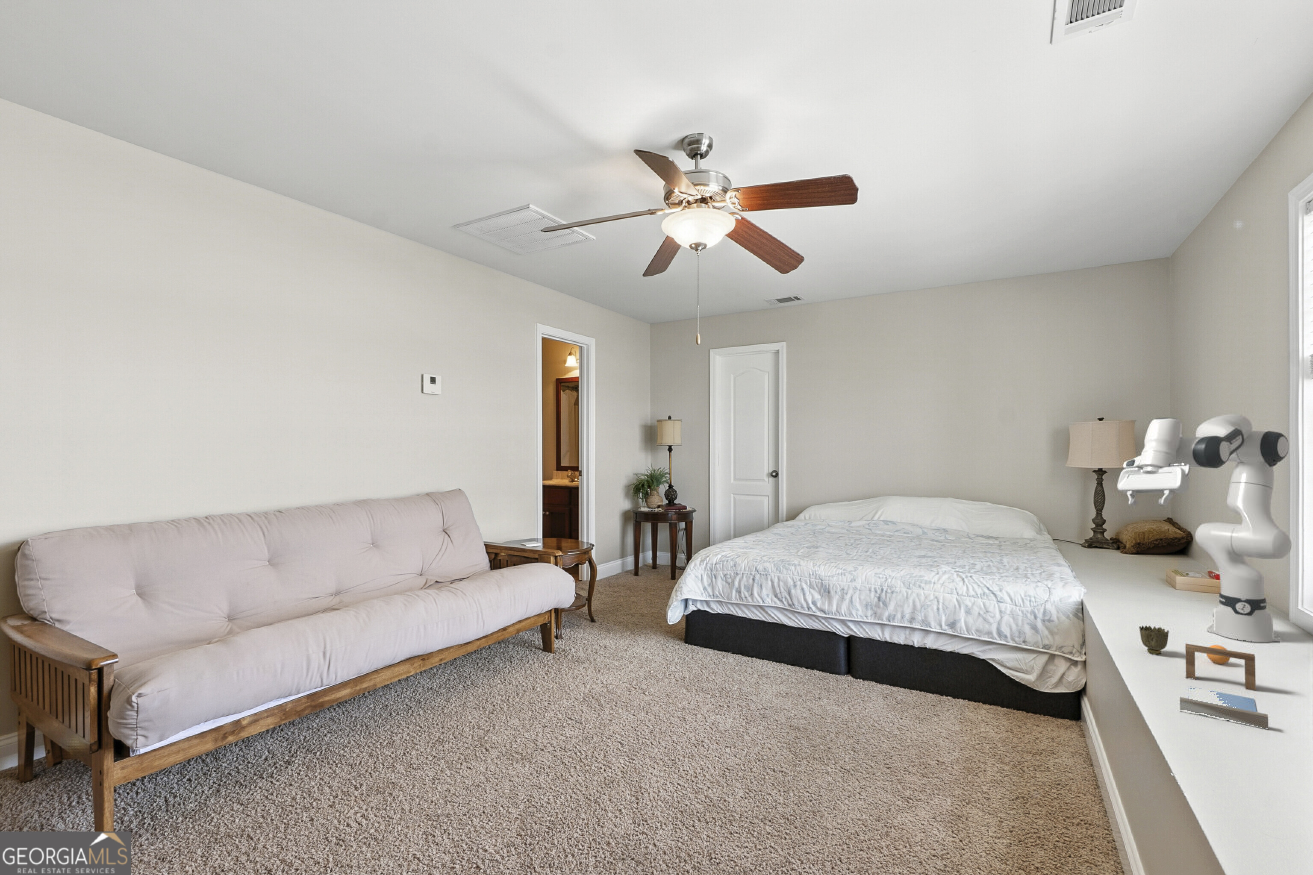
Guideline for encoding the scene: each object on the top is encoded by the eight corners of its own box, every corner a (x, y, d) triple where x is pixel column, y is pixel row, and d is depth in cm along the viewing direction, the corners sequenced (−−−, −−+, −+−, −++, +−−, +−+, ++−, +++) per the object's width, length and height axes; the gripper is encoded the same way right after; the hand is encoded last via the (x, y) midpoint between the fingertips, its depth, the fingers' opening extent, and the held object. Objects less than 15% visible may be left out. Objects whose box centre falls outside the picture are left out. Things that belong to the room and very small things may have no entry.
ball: (1206, 658, 195) (1205, 641, 195) (1230, 662, 191) (1229, 644, 191) (1206, 663, 190) (1206, 645, 190) (1230, 667, 187) (1230, 649, 187)
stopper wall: (1180, 708, 159) (1180, 696, 159) (1267, 726, 149) (1267, 714, 149) (1180, 711, 158) (1179, 699, 158) (1268, 729, 147) (1268, 716, 147)
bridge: (1186, 674, 182) (1185, 643, 182) (1255, 687, 172) (1254, 654, 172) (1186, 677, 179) (1185, 646, 179) (1255, 690, 170) (1255, 657, 170)
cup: (1174, 657, 196) (1174, 632, 196) (1148, 656, 197) (1147, 631, 197) (1160, 650, 203) (1160, 625, 203) (1134, 648, 204) (1134, 624, 205)
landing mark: (1189, 686, 173) (1189, 686, 173) (1253, 699, 164) (1253, 698, 164) (1188, 701, 163) (1188, 701, 163) (1257, 715, 154) (1257, 715, 154)
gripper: (1199, 466, 188) (1189, 509, 185) (1133, 470, 208) (1124, 508, 205) (1183, 458, 187) (1173, 501, 184) (1118, 462, 207) (1109, 501, 204)
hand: (1147, 505), depth 195 cm, fingers open, 8 cm apart
